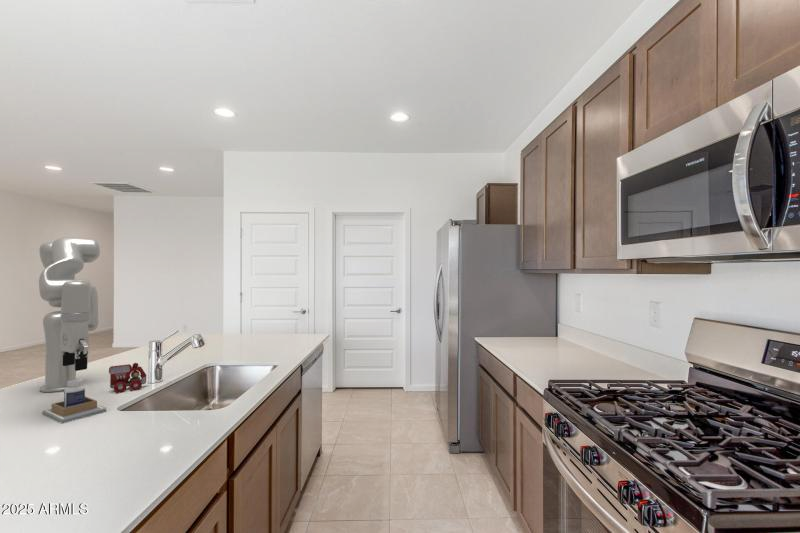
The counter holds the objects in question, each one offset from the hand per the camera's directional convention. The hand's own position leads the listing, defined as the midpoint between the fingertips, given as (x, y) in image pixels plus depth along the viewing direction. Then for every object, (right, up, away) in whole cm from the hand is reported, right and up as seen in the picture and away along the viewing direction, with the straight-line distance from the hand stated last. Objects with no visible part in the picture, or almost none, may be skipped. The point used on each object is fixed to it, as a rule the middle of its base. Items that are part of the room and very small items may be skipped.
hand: (74, 367), depth 130 cm
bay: (+1, -15, -1) cm, 15 cm away
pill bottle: (0, -14, -1) cm, 14 cm away
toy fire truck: (0, -16, +25) cm, 29 cm away
